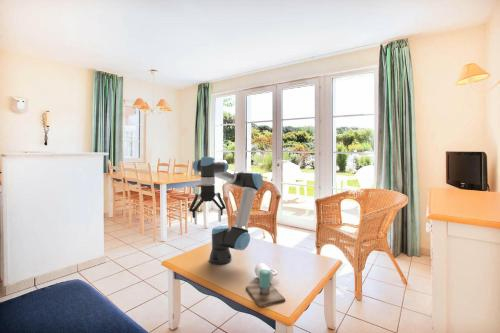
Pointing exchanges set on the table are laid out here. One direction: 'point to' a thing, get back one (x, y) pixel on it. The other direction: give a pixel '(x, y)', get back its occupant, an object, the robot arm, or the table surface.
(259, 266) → the mug
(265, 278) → the cap
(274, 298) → the stud board
